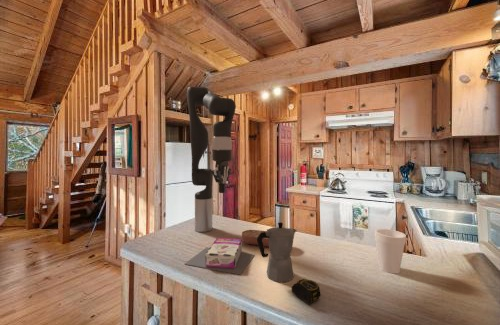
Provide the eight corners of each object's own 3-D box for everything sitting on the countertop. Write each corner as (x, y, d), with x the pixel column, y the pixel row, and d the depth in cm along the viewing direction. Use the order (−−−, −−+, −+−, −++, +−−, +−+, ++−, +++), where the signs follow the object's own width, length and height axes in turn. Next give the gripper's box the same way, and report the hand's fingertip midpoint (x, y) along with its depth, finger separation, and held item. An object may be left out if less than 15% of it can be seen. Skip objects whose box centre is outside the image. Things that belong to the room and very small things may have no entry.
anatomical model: (238, 245, 102) (238, 234, 102) (247, 238, 112) (247, 228, 111) (288, 254, 93) (288, 242, 93) (293, 245, 103) (293, 234, 102)
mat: (206, 248, 99) (206, 247, 99) (254, 255, 92) (254, 254, 92) (184, 264, 84) (184, 263, 84) (240, 274, 77) (240, 274, 77)
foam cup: (394, 278, 75) (395, 239, 75) (368, 266, 83) (369, 231, 83) (410, 271, 80) (411, 235, 79) (384, 260, 88) (385, 227, 87)
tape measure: (290, 295, 66) (290, 282, 66) (306, 287, 70) (306, 275, 70) (308, 308, 60) (308, 294, 60) (325, 299, 64) (325, 286, 64)
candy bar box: (216, 248, 98) (204, 266, 81) (217, 237, 98) (204, 253, 81) (242, 250, 96) (235, 269, 80) (242, 238, 96) (235, 255, 80)
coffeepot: (287, 265, 84) (288, 216, 83) (304, 277, 75) (305, 223, 75) (250, 274, 77) (250, 222, 77) (264, 289, 69) (264, 230, 68)
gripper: (220, 149, 97) (220, 189, 97) (205, 148, 84) (205, 195, 85) (237, 149, 94) (237, 190, 95) (223, 148, 82) (223, 196, 82)
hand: (222, 192), depth 90 cm, fingers closed
